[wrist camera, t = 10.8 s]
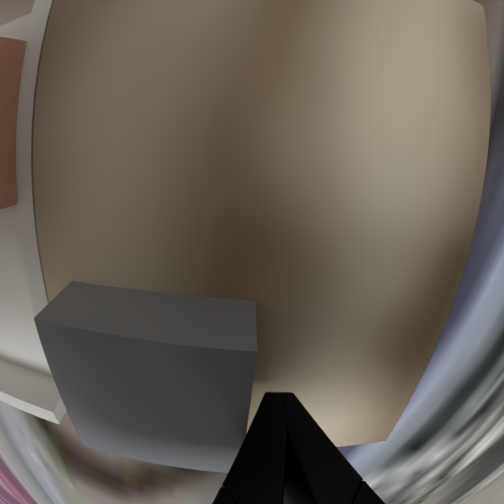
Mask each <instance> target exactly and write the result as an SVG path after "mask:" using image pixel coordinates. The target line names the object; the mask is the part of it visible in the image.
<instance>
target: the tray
mask: <svg viewBox="0 0 504 504" xmlns="http://www.w3.org/2000/svg"><path fill="white" fill-rule="evenodd" d="M53 3H54V0H0V37H6V38H12V39H18V40H23V41H27V44H26V49H25V54H24V60H23V66H22V72H21V80H20V88H19V97H18V108H17V123H16V185H17V200H18V204H16V205H13V206H10V207H7V208H4V209H1V210H0V400H1V401H3V402H5V403H7V404H9V405H11V406H14V407H16V408H18V409H21V410H23V411H25V412H28V413H30V414H33V415H35V416H38V417H40V418H43V419H46V420H48V421H51V422H54V423H57V424H60V422H61V420H62V419H63V417H64V415H65V413H66V411H67V410H66V408H65V405H64V403H63V401H62V398H61V396H60V394H59V391H58V389H57V386H56V384H55V381H54V379H53V376H52V374H51V371H50V368H49V365H48V363H47V360H46V357H45V354H44V351H43V348H42V345H41V342H40V338H39V335H38V332H37V328H36V325H35V321H34V317H35V316H36V315H37V314H38V313H39V312H40V311H41V310H42V309H43V308H44V307H45V306H46V305H47V304H48V303H49V298H48V293H47V288H46V283H45V278H44V272H43V267H42V261H41V254H40V248H39V240H38V232H37V223H36V212H35V200H34V180H33V133H34V114H35V102H36V92H37V83H38V75H39V68H40V62H41V56H42V50H43V45H44V40H45V35H46V30H47V26H48V22H49V18H50V14H51V10H52V6H53Z"/></svg>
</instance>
